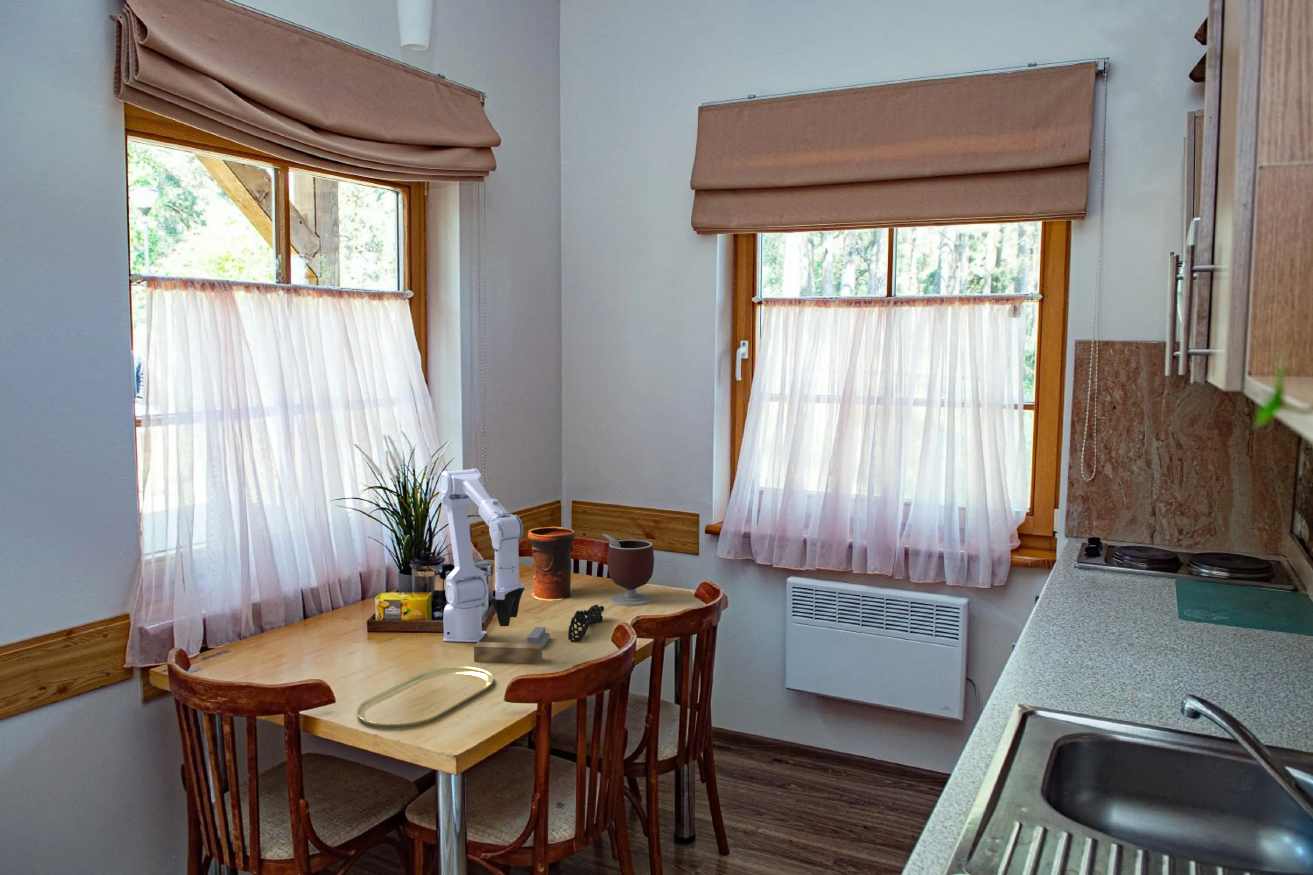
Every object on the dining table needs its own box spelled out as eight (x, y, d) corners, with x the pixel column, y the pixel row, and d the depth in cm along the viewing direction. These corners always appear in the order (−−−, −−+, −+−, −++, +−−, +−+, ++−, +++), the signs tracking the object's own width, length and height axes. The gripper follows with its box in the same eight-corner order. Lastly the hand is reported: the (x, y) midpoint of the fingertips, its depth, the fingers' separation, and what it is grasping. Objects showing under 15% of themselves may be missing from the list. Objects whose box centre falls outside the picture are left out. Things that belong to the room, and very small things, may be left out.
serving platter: (337, 721, 196) (336, 714, 196) (443, 668, 228) (443, 662, 227) (409, 737, 188) (409, 730, 188) (509, 680, 220) (509, 673, 219)
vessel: (523, 590, 297) (524, 526, 295) (568, 587, 301) (569, 525, 299) (531, 602, 283) (532, 536, 281) (578, 599, 287) (579, 534, 285)
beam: (474, 662, 231) (473, 646, 231) (478, 657, 235) (477, 641, 235) (539, 664, 230) (538, 648, 230) (542, 659, 233) (542, 643, 233)
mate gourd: (657, 594, 291) (657, 530, 289) (650, 607, 278) (650, 539, 276) (607, 593, 293) (607, 529, 291) (598, 605, 280) (597, 538, 278)
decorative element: (583, 644, 245) (583, 622, 244) (564, 642, 246) (564, 620, 246) (606, 619, 267) (606, 599, 266) (589, 618, 268) (589, 597, 267)
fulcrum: (522, 648, 241) (522, 637, 240) (531, 637, 250) (530, 626, 249) (542, 649, 240) (542, 637, 240) (549, 638, 249) (549, 627, 249)
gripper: (515, 573, 223) (517, 630, 224) (530, 559, 237) (531, 613, 238) (486, 572, 223) (487, 629, 225) (502, 559, 238) (503, 612, 239)
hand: (508, 621), depth 232 cm, fingers open, 7 cm apart
